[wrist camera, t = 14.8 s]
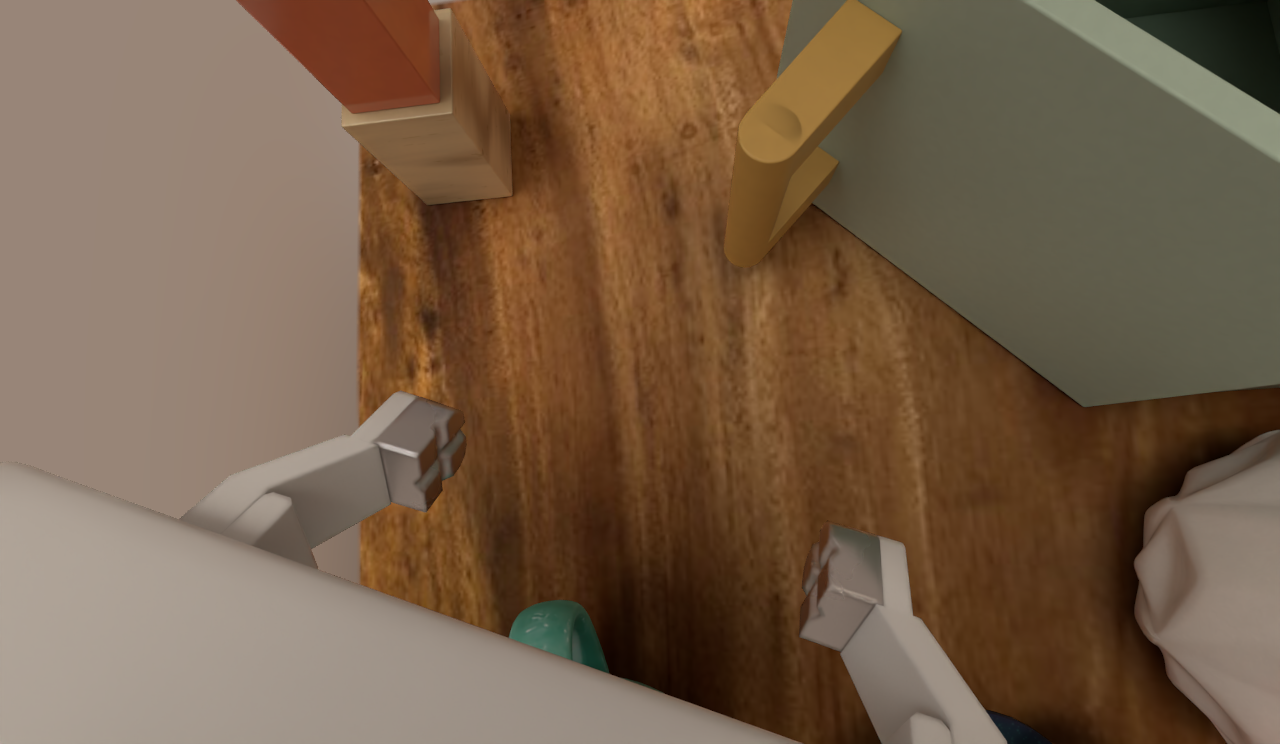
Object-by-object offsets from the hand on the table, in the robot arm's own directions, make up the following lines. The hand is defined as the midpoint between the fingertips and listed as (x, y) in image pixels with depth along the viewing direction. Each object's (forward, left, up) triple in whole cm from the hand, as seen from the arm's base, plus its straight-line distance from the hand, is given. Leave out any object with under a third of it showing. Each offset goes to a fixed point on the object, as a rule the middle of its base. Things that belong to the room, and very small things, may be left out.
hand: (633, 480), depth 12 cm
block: (-18, -10, -9) cm, 22 cm away
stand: (-18, -10, -17) cm, 27 cm away
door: (-7, +11, -17) cm, 21 cm away
